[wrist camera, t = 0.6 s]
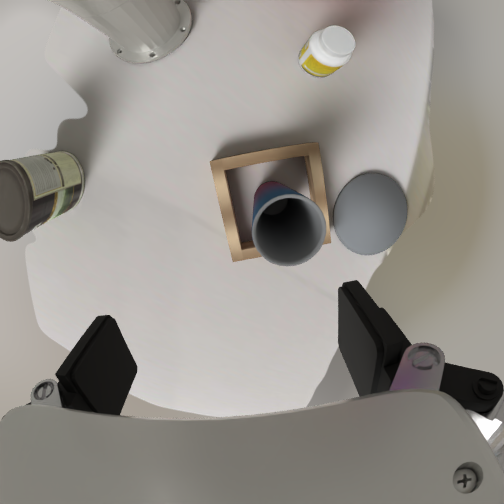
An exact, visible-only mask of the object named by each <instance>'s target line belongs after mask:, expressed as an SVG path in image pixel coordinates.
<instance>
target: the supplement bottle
mask: <svg viewBox="0 0 504 504" xmlns="http://www.w3.org/2000/svg"><path fill="white" fill-rule="evenodd" d="M355 45H356V43H355V39H354V37H353V35H352V34H351V33H350V32H349V31H348V30H347V29H345V28H343V27H341V26H336V25H332V26H328V27H327V28H325V29H321V30H318V31H316V32H315V33H314V34H313V35H312V36H311V37H310V38H309V40H308V41H307V43H306V44H305V45H304V47H303V48H302V50H301V51H300V53H299V56H298V61H299V65H300V67H301V68H302V69H303V71H304V72H306V73H307V74H308V75H310V76H313V77H317V78H322V77H326V76H329V75H330V74H332V73H333V72H335V71H336V70H337V69H339V68H340V67H342V66H343V65H345V64H346V63H347V62H348V61H349V60H350V58H351V56H352V51H353V50H354V49H355Z"/></svg>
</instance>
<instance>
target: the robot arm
mask: <svg viewBox="0 0 504 504" xmlns="http://www.w3.org/2000/svg"><path fill="white" fill-rule="evenodd" d="M49 1H51V2H53V3H56V4H57V5H59V6H61V7H63V8H65V9H67V10H68V11H70V12H71V13H73V14H75V15H76V16H78V17H79V18H81V19H82V20H84V21H85V22H87V23H89V24H90V25H92V26H93V27H95V28H96V29H98V30H99V31H101V32H102V33H103V34H105V35H106V36H108V37H109V42H110V47H111V49H112V51H113V52H114V53H115V55H116V56H117V57H119V58H120V59H122V60H124V61H126V62H130V63H135V64H143V63H149V62H153V61H156V60H159V59H161V58H163V57H165V56H167V55H168V54H170V53H172V52H173V51H174V50H175V49H177V48H178V47H179V46H180V45H181V44H182V43H183V41H184V40H185V39H186V37H187V36H188V34H189V31H190V29H191V25H192V14H191V11H190V9H189V7H188V5H187V4H186V3H185V1H184V0H49ZM182 31H184V32H182ZM154 55H155V56H154ZM153 56H154V57H153ZM338 344H339V348H340V351H341V353H342V356H343V358H344V360H345V363H346V365H347V367H348V370H349V372H350V374H351V377H352V379H353V381H354V384H355V386H356V389H357V391H358V394H359V396H360V397H356V398H351V399H346V400H342V401H337V402H332V403H328V404H322V405H317V406H312V407H306V408H299V409H293V410H287V411H280V412H273V413H265V414H256V415H245V416H233V417H216V418H148V417H132V416H121V415H120V413H121V410H122V408H123V405H124V403H125V400H126V398H127V395H128V393H129V390H130V388H131V385H132V383H133V380H134V378H135V376H136V373H137V365H136V363H135V361H134V359H133V357H132V355H131V353H130V351H129V349H128V346H127V344H126V342H125V340H124V338H123V336H122V334H121V331H120V329H119V327H118V325H117V323H116V320H115V319H114V318H112V317H111V316H110V315H104V316H97V317H96V319H95V320H94V321H93V322H92V324H91V325H90V326H89V328H88V329H87V330H86V332H85V333H84V334H83V336H82V337H81V338H80V340H79V341H78V342H77V344H76V345H75V347H74V348H73V349H72V351H71V352H70V354H69V355H68V356H67V358H66V359H65V361H64V362H63V364H62V365H61V366H60V368H59V369H58V371H57V373H56V376H57V378H58V379H59V382H58V384H57V382H56V381H55V380H53V379H46V380H43V381H41V382H39V383H38V384H37V385H36V386H35V387H34V388H33V390H32V392H31V402H30V403H28V404H26V405H25V406H19V407H16V408H14V409H11V410H10V411H9V412H8V413H7V414H6V415H5V416H3V418H2V420H1V421H0V504H504V389H503V384H502V381H501V380H500V379H499V378H498V377H497V376H496V375H494V374H492V373H489V372H485V371H480V370H476V369H471V368H466V367H462V366H457V365H453V364H449V363H445V356H444V353H443V351H442V350H441V349H440V348H439V347H437V346H435V345H433V344H430V343H416V344H413V345H412V344H411V343H410V342H409V340H408V339H407V338H406V336H405V335H404V334H403V332H402V331H401V330H400V328H399V327H398V326H397V325H396V323H395V322H394V321H393V319H392V318H391V317H390V315H389V314H388V313H387V312H386V310H385V309H384V308H379V307H378V306H377V304H376V303H375V302H374V301H373V299H371V297H370V295H369V294H368V293H367V292H366V290H365V289H364V288H363V287H362V285H361V284H360V283H359V282H358V281H357V280H355V281H350V282H345V283H343V285H342V287H339V289H338Z"/></svg>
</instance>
